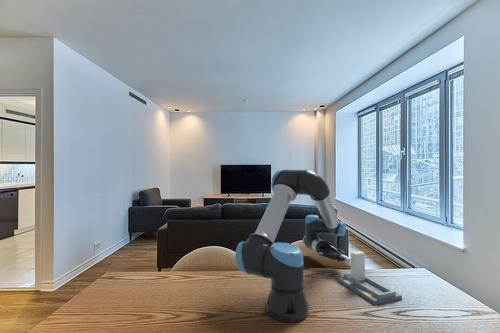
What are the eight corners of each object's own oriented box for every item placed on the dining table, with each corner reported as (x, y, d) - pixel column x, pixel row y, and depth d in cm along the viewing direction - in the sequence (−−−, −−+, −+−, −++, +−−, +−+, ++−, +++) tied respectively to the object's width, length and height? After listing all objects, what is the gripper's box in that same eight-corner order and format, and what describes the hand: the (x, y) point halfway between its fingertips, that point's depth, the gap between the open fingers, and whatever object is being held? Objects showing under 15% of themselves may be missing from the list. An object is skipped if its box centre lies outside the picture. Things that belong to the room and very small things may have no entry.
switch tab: (351, 279, 121) (350, 252, 121) (360, 277, 123) (360, 250, 123) (355, 281, 118) (355, 254, 118) (365, 280, 120) (364, 252, 120)
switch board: (338, 281, 123) (338, 274, 123) (362, 277, 127) (362, 271, 127) (374, 304, 102) (374, 296, 102) (401, 299, 106) (401, 291, 106)
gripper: (332, 253, 150) (362, 268, 128) (311, 255, 146) (338, 271, 123) (332, 239, 150) (362, 252, 128) (311, 241, 146) (338, 255, 123)
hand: (350, 261), depth 126 cm, fingers closed
